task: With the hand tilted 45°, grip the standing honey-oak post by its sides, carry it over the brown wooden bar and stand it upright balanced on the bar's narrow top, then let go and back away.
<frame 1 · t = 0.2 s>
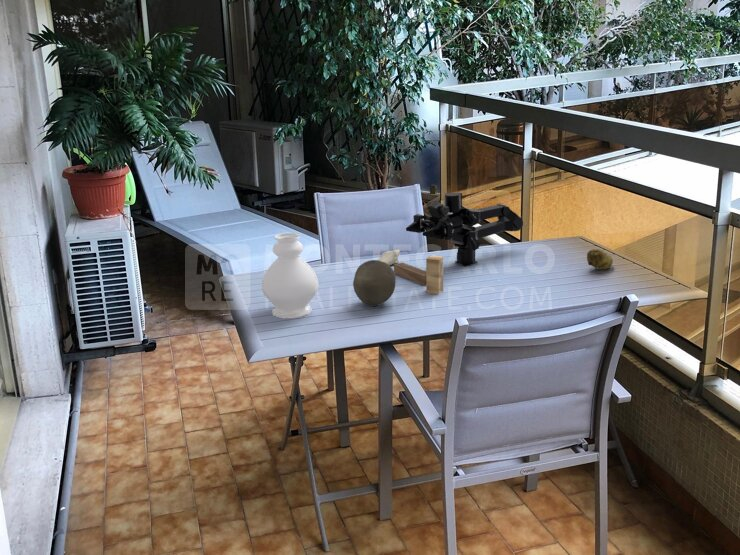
hand: (414, 231, 262), 17 cm above the table, tool horizontal, fingers open, 9 cm apart
brown wooden bar: (413, 278, 266), on the table
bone: (384, 269, 278), on the table
decorative vase: (291, 312, 236), on the table
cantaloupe: (375, 306, 240), on the table
olive green oval lump: (600, 269, 271), on the table
oak post: (434, 291, 251), on the table
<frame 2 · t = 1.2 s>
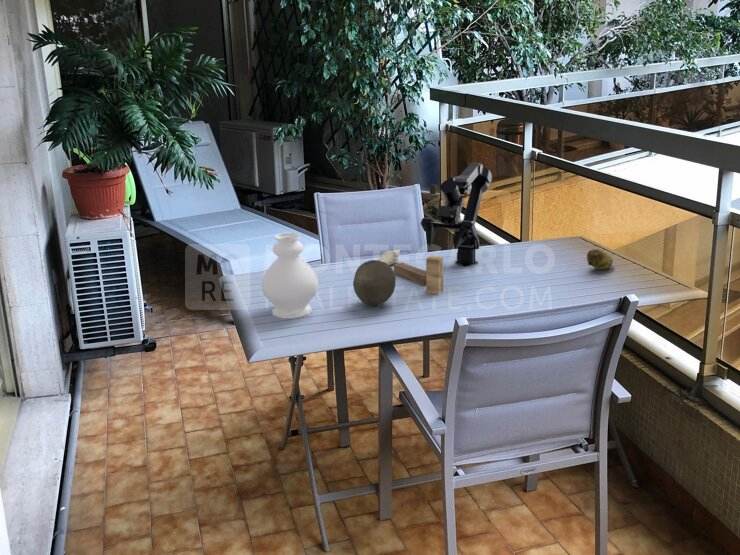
hand: (442, 247, 254), 13 cm above the table, tool tilted 45°, fingers open, 9 cm apart
nothing on the table moved.
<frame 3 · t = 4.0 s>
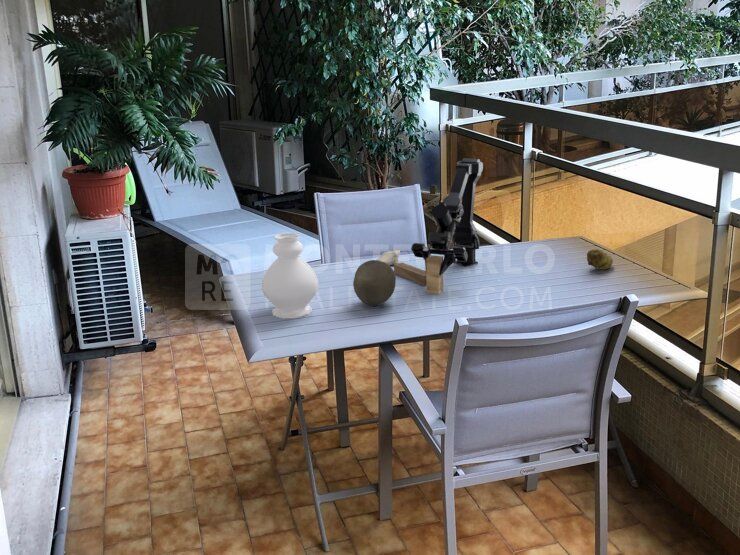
hand: (433, 274, 248), 7 cm above the table, tool tilted 45°, fingers closed on oak post, 4 cm apart
oak post: (434, 291, 251), on the table, touching gripper
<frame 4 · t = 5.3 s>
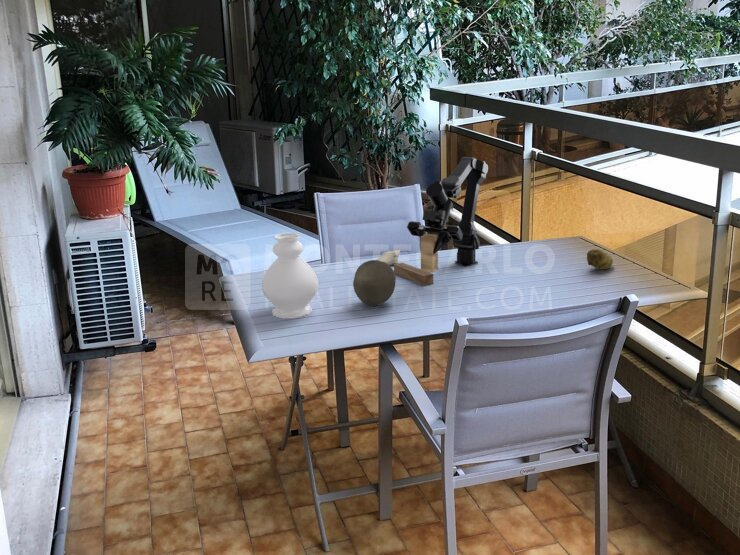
hand: (427, 252, 249), 13 cm above the table, tool tilted 45°, fingers closed on oak post, 4 cm apart
oak post: (429, 269, 252), point 7 cm above the table, touching gripper
everything else where it was.
when the fingers open (11 cm above the table, at t = 6.8 s): oak post stays where it is, resting on brown wooden bar.
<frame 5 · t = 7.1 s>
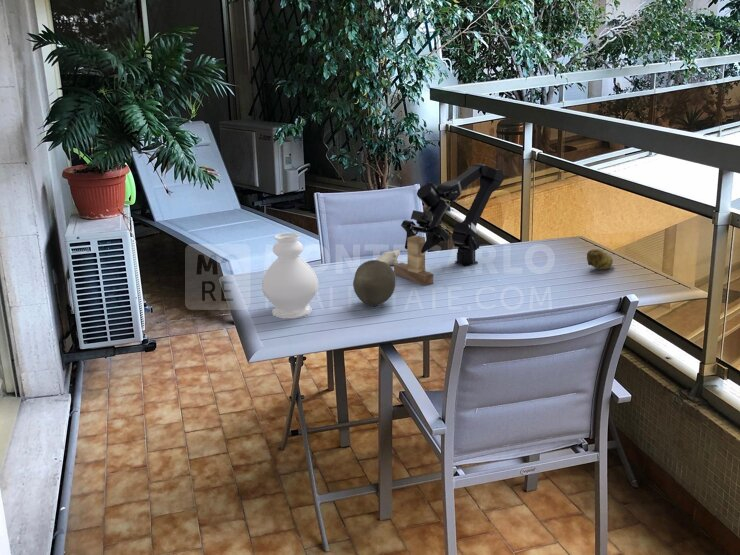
hand: (413, 250, 260), 11 cm above the table, tool tilted 45°, fingers open, 7 cm apart
oak post: (416, 270, 263), point 3 cm above the table, touching brown wooden bar
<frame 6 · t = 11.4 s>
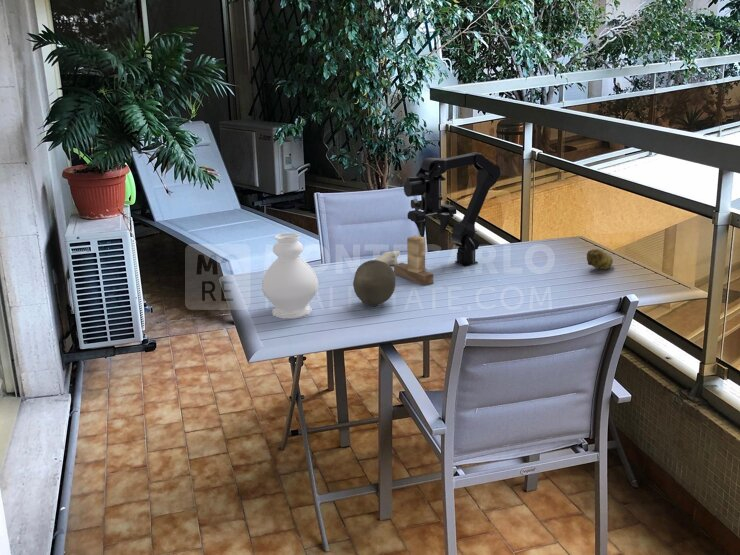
hand: (432, 235, 271), 13 cm above the table, tool pointing down, fingers open, 9 cm apart
at the end: oak post 0.0 cm from the target spot on the brown wooden bar, point 3.5 cm above the brown wooden bar's base; oak post tilted 0°; the gripper is holding nothing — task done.
